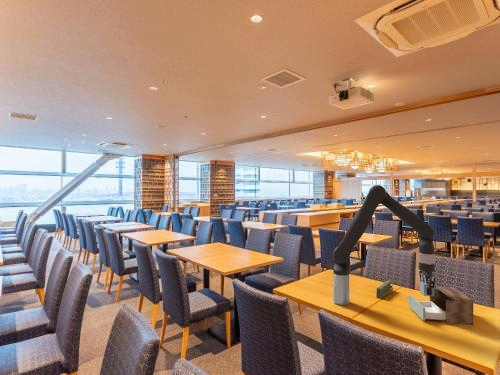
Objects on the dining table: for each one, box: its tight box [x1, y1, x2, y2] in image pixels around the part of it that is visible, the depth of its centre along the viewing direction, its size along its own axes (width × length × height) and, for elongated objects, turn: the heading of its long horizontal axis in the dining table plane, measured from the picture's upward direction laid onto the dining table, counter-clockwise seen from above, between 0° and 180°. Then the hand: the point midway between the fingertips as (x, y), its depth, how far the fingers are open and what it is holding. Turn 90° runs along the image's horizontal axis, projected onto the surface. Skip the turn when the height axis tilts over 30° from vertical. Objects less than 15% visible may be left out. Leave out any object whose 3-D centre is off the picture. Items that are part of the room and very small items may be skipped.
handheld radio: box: [376, 279, 393, 299], centre depth 189 cm, size 7×3×25 cm
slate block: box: [419, 280, 435, 297], centre depth 156 cm, size 5×5×6 cm
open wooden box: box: [429, 286, 475, 326], centre depth 154 cm, size 12×19×13 cm, turn 171°
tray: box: [407, 293, 446, 321], centre depth 156 cm, size 12×19×6 cm, turn 171°
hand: (426, 292), depth 156 cm, fingers closed on slate block, 5 cm apart
